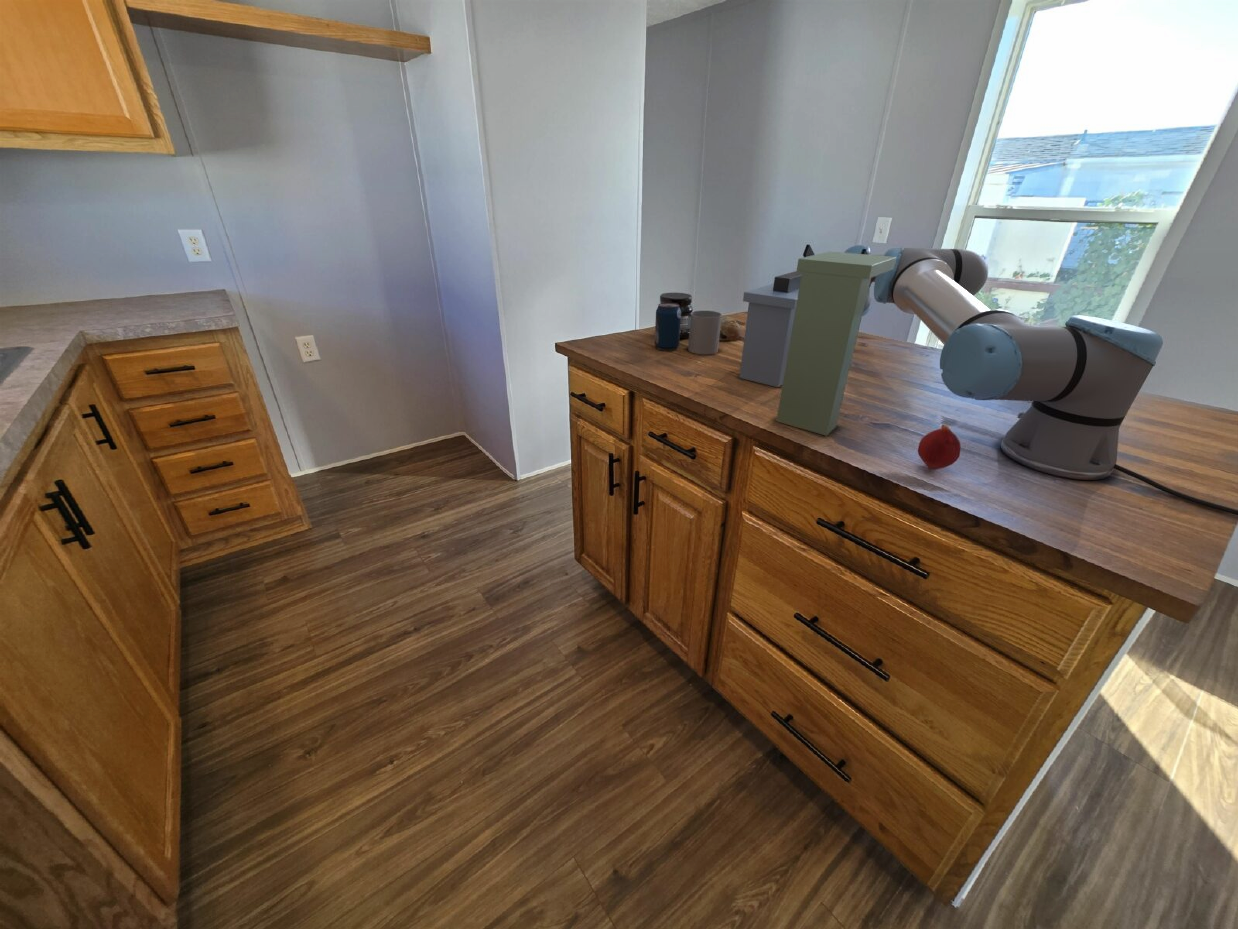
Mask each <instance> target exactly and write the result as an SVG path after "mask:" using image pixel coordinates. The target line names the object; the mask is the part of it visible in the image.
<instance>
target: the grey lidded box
mask: <svg viewBox="0 0 1238 929" xmlns="http://www.w3.org/2000/svg"><path fill="white" fill-rule="evenodd" d="M773 286H774V283H771V284H767V285H763V286H759V287H757V288H754V289H750V290H747V291H744V292H743V298H742V302H746V303H748V306H747V313H746V314H747V315H746V323H745V330H744V337H743V345H742V346H743V347H742V353H741V360H740V362H741V363H740V370H739V376H738V378H739V379H743V380H747V381H750V382H754V383H757V384H758V383H759V384H762V385H766V386H770V387H775V388H779V387H782V385H783V379H784V373H785V367H786V362H787V356H788V350H789V344H790V338H791V333H792V327H793V321H794V315H795V309H796V304H797V298H798V292H799V289H798V290H795V291H792V292H789V293H784V292H777V291H773Z"/></svg>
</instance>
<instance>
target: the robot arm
mask: <svg viewBox="0 0 1238 929" xmlns="http://www.w3.org/2000/svg"><path fill="white" fill-rule="evenodd" d="M843 253H854V254H866V255H872V252H871V248H870V247H869V246H867V245H864V244H857V245H853V246H850V247H848V248H847V249H846V250H844V251H843ZM812 255H816V254H815V252H814V250H813V249H812V247H811V245H810V244H806V245H805V248H804V250H803V253H802V258H804V257H808V256H812ZM877 255H878V256H890V257H897V259H896V263H895V266H894V269H893V270H890V271H887V272H885V273H882V274H880V275H877V276H875V277H872V278H871V281H870V285H869V289H868V294H867V298H866V302H865V306H864V310H863V315H862V317H864V316H866V315H867V314H868V313H869V311H870V310H871V307H872V298H871V296H870V293H871V292H870V289H871V286H872V284H873V283H874V285H873V297H874V300H875V302H877V303H881V304H884V305H885V304H894V305H895V306H896V307H897V308H898V310H900V311H902V312H903V313H905V314H909V315H916V316H917V318H918V319H919V320H920V321H921V322H922V323H923V324H924V325H925V326H926V327H927V328H928V330H929V331H930V332H932V334H933V335H934V336H935V337H936V338H937V339H938V340H939V341H940V342H941V344H942V345H943V346H942V350H941V353H940V357H939V369H940V370H942V372H941V374H940V375H941V379H942V381H943V384H944V385H945V387H946V388H947V389H948V390H949V391H950V392H951V393H952V394H954V395H955V396H958V397H960V398H965V399H972V400H976V401H1016V402H1017V401H1019V402H1021V401H1022V402H1032V403H1031V405H1030V407H1029V408H1028V409H1027V410H1026V411H1025V412H1019V413H1018V414H1017V417H1016V418H1017V419H1018V420H1017V421H1016V422H1015V423H1014V424H1013V425H1012V426H1011V428H1010V429H1009V430H1007V431H1006V433H1005V435H1004V437H1003V438H1002V440H1001V443H1000V449H1001V450H1002V452H1003V453H1004V455H1006V456H1007V457H1009V458H1010V459H1011V460H1013V461H1015V462H1017V463H1019V464H1020V465H1022V466H1025V467H1028V468H1030V469H1033V470H1036V471H1039V472H1041V473H1045V474H1048V475H1052V476H1056V477H1057V476H1058V477H1060V478H1066V479H1072V480H1082V481H1097V480H1104V479H1106V478H1108V477H1110V476H1111V474H1112V473H1113V471H1114V470H1116V471H1118V472H1121V473H1123V474H1126V475H1127V476H1130V477H1132V478H1134V479H1136V480H1139V481H1141V482H1144V483H1145V484H1148V485H1149V486H1152V487H1153V488H1155V489H1157V490H1160V491H1161V492H1164V493H1167V494H1169V495H1171V496H1173V497H1177V498H1180V499H1182V500H1185V501H1187V502H1191V503H1194V504H1197V505H1200V506H1204V507H1207V508H1211V509H1214V510H1217V511H1221V512H1225V513H1228V514H1231V515H1234V516H1235V515H1236V516H1238V509H1236V508H1232V507H1229V506H1225V505H1221V504H1218V503H1214V502H1210V501H1208V500H1204V499H1200V498H1197V497H1194V496H1191V495H1189V494H1185V493H1183V492H1180V491H1177V490H1174V489H1172V488H1169V487H1167V486H1165V485H1163V484H1160V483H1158V482H1157V481H1154V480H1153V479H1151V478H1148V477H1146V476H1144V475H1142V474H1139V473H1137V472H1135V471H1132V470H1130V469H1129V468H1126V467H1125V466H1121V465H1119V464H1117V462H1118V449H1119V436H1120V427H1121V425H1122V423H1123V422H1124V420H1125V418H1126V416H1127V414H1128V413H1129V411H1130V409H1131V407H1132V405H1133V403H1134V401H1135V399H1136V397H1137V396H1138V394H1139V393H1140V391H1141V389H1142V387H1143V385H1144V383H1145V382H1146V380H1147V378H1148V376H1149V375H1150V373H1151V371H1152V369H1153V367H1155V366H1156V363H1157V362H1156V360H1157V358H1158V356H1159V354H1160V352H1161V350H1162V348H1163V344H1164V341H1163V338H1162V336H1161V335H1160V334H1158V333H1157V332H1154V331H1152V330H1149V329H1147V328H1144V327H1140V326H1136V325H1133V324H1129V323H1124V322H1119V321H1116V320H1111V319H1106V318H1100V317H1095V316H1089V315H1082V314H1081V315H1079V314H1078V315H1077V314H1076V315H1072V316H1070V317H1069V318H1068V320H1067V321H1065V323H1064V325H1065V326H1064V327H1058V326H1059V325H1032V324H1028V323H1026V322H1025V321H1023V319H1021V318H1019V317H1018V316H1017V315H1016V314H1014V313H1013V312H1011V311H1008V310H1004V309H998V308H997V309H990V308H989V307H987V306H986V305H985V304H984V303H983V302H981V301H980V300H978V299H977V298H976V297H975V295H977V293H979V292H980V291H981V290H982V289H983V287H984V286H985V284H986V282H987V280H988V278H989V277H988V276H989V267H988V264H987V262H986V260H985V258H984V257H983V256H982V255H980V254H979V253H977V252H975V251H972V250H968V249H963V248H933V247H932V248H931V247H930V248H929V247H927V248H926V247H904V246H901V247H891V248H889V249H888V250H886V251H885V253H884V254H877Z"/></svg>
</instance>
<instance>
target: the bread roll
mask: <svg viewBox="0 0 1238 929" xmlns="http://www.w3.org/2000/svg"><path fill="white" fill-rule="evenodd" d="M740 337H741V326H740V324H739V323H738V322H737V321H736V320H735V319H734V318H733V317H731V316H726V315H722V316H721V326H720V336H719V341H725V342H727V341H729V342H734V341H737V340H739V339H740Z"/></svg>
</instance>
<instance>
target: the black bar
mask: <svg viewBox="0 0 1238 929" xmlns="http://www.w3.org/2000/svg"><path fill="white" fill-rule="evenodd" d="M801 275H802V272H801V271H797V270H796V271H792V272H788V273H783V274H781V275H777V276H774V278H773V279H774V281H773V284H774V286H773V291H777V292H784V293H789V292H792V291H795V290H798V289H799V286H800V280H801Z"/></svg>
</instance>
